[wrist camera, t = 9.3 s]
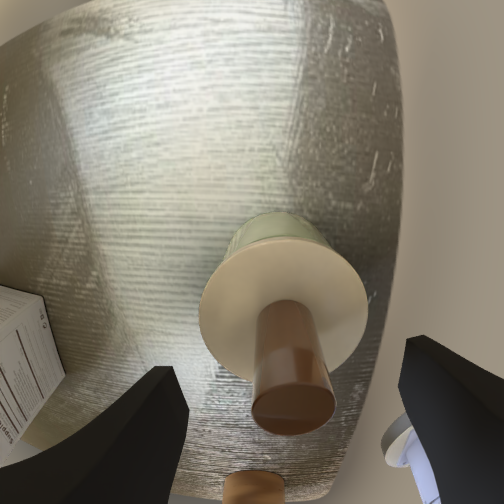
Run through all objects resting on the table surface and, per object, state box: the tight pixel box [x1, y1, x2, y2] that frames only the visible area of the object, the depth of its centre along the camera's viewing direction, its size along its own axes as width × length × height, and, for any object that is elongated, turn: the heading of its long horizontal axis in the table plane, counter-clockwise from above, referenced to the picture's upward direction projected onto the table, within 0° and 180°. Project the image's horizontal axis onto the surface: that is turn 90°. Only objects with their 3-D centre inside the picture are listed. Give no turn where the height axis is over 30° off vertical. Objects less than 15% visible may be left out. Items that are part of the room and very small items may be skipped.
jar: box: [222, 212, 333, 262], centre depth 14 cm, size 6×6×6 cm
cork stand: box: [222, 470, 285, 504], centre depth 23 cm, size 7×7×6 cm
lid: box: [199, 236, 368, 436], centre depth 9 cm, size 7×7×5 cm
